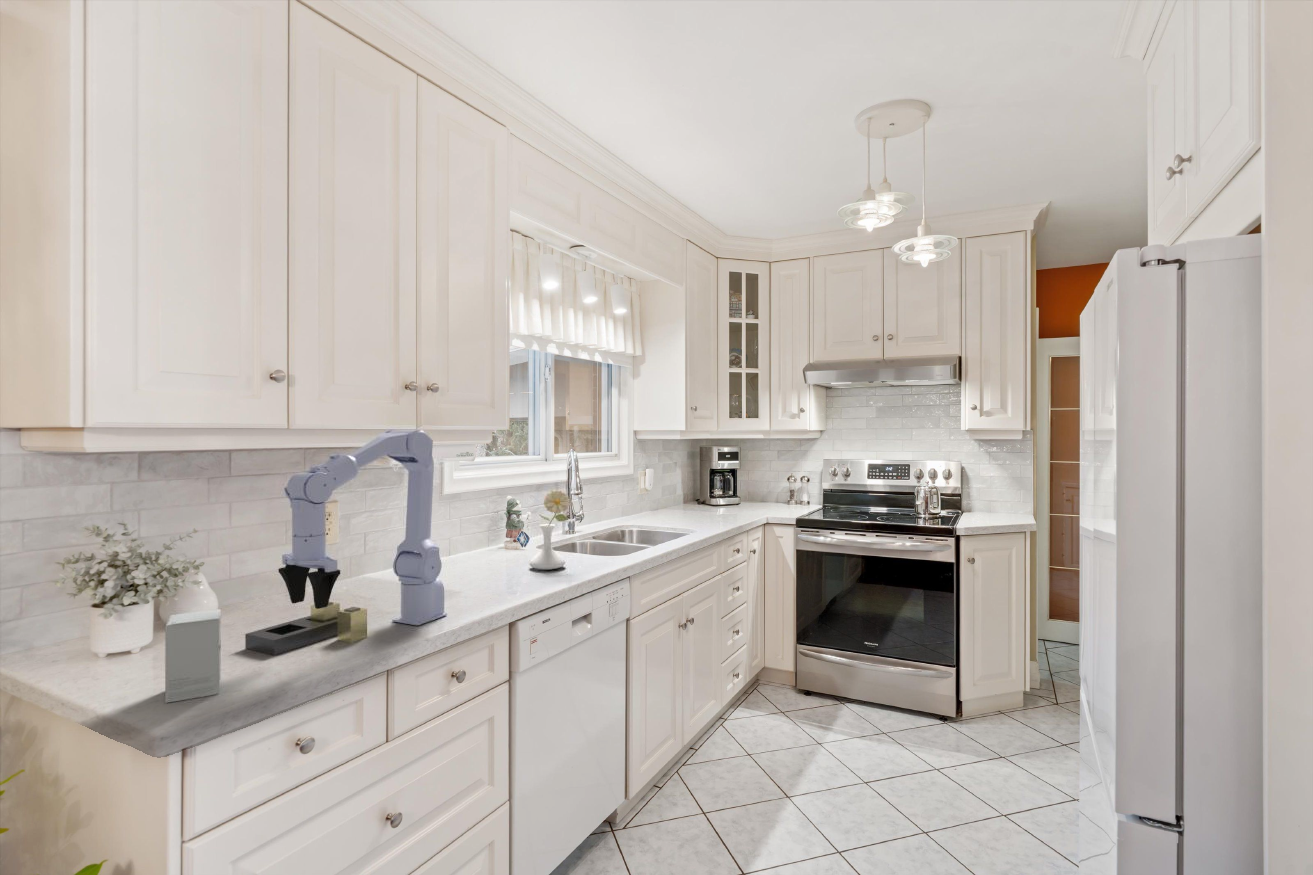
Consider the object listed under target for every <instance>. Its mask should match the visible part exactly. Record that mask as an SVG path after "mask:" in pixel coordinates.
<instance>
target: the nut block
mask: <svg viewBox="0 0 1313 875" xmlns="http://www.w3.org/2000/svg"><path fill="white" fill-rule="evenodd" d="M365 638H368V608H364V607H363V608H362V607H358V606H351V607H347V608H345V609H341V610H340V611H338V635H337V641H340V642H341V641H343V642H347V643H355V642H357V641H360V640H362V639H365Z"/></svg>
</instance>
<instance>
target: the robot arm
mask: <svg viewBox="0 0 1313 875" xmlns="http://www.w3.org/2000/svg"><path fill="white" fill-rule="evenodd" d="M433 443H434V441H433V438H432V437H430V435H429V434H428V433H427V432H426V431H425V430H422V429H415V430H411V429H408V430H407V429H405V430H404V429H403V430H400V429H398V430H397V429H388V430H386V431H384V432H380V433H379V434H378V436H377V437H375V438H374V439H372V440H371V441H369V442H367V443H366V444H365V445H364V444H363V446H361V447H360V448H358V449H357V450H355V451H353V452H352V453H350V454H349V455H348V454H345V453H332V454H330V455H329V457H328V458H329V459H327V460H326V461H324V462H322V463H320V464H318V465H315V464H314V465H312V466H310V468H309V470H308V471H307V472H296V473H295V474H293V475H292V476H291V477H290V479H289V480H288V482H287V484H286V487H284V491H283V492H284V494H285V497H286V498H287V499H288V500H289V504H290V509H291V534H292V535H291V536H292V537H291V538H292V539H291V543H292V544H291V546H292V547H291V548H292V549H291V552H290V553H285V554H282V558H281V560H282V561H281V563H282V565H284V566H283V567H279V568H278V571H277V572H278V573H279V574H280V576H281V577H282V579H283V582H284V583H285V587H286V589H287V592H288V595H289V599H290V601H291V604H297V603H301V602H304V601H305V597H306V588H307V587H306V585H307V580H309V582H310V584H311V589H312V593H313V594H312V595H313V605H315V608H316V609H320V608H324V607H327V606H328V603H329V602H330V599H331V595H332V590H333V588H334V587H335V583H336V581H337V580H338V578H339V576H340V575H341V569H338V560H337V559H333V558H332V557H330V556H327V550H326V549H327V547H326V546H327V545H326V542H327V541H326V540H327V539H326V538H327V535H326V533H327V531H326V530H327V528H326V524H327V523H326V521H327V520H326V518H327V517H326V513H327V512H326V507H327V506H326V502H327V501H328V500H329V499H330V497H331V496H332V494H333V492H334V491H335V490H337V489H338V488H340V487H342V486H344V485H345V484H347V483H348V482H350V481H352V480H354V479H355V478H357V476H358V474H359V469H361V468H363V467H366V466H367V465H369V464H372V463H373V462H376V461H378V460H379V459H382V458H383V457H388V458H389V459H392V460H393V461H395V462H397V463H399V464H401V465H402V466H403V468H405V470H407V472H408V476H407V477H408V478H407V494H406V495H407V500H406V515H405V516H406V517H405V518H406V519H405V521H406V522H405V534H404V535H405V537H404V540H402V542H401V543H400V544H399V545H397V548H396V555H395V557H394V559H393V562H392V563H393V564H392V570H393V573H394V574H395V576H396V577H398V582H400V616H397V617H395V618H392V619H391V621H392V622H395V623H401V624H406V625H412V626H421V625H423V624H426V623H428V622H432V621H435V620H437V619H439V618H443V617H445V616H447V615H448V614H447V612H445V586H444V583H443V582H442V580H441V579H440V578H438V577H439V576H440V573H441V571H442V567H443V566H442V565H443V564H442V559H441V557H440V547H439V546H438V545H437V544H436V543H435V542H434V541H433V540H432V538H431V537H432V536H431V532H432V514H433V512H432V511H433V494H434V493H433V492H434V473H435V472H434V470H435V469H434V468H435V463H434V456H433V447H434V446H433ZM311 569H315V570H314V571H311V572H310V570H311Z"/></svg>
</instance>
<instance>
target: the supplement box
mask: <svg viewBox="0 0 1313 875" xmlns="http://www.w3.org/2000/svg"><path fill="white" fill-rule="evenodd" d="M221 617H222V615H221V609H220V608H219V609H218V608H217V609H210V610H209V609H208V610H201V611H192V612H185V613H177V614H172V615H169V618H168V620H167V621H166V624H165V630H164V632H165V638H164V639H165V641H164V642H165V643H164V644H165V646H164V647H165V648H164V650H165V651H164V652H165V654H164V655H165V657H164V660H165V661H164V662H165V663H164V664H165V665H164V666H165V670H164V673H165V676H164V678H165V682H164V683H165V684H164V686H165V688H164V691H165V693H164V694H165V697H164V699H165V700H164V703H173V702H180V701H185V700H191V699H197V698H203V697H208V696H209V697H210V696H215V695H219V693H220V683H221V675H222V674H221V671H222V670H221V668H222V667H221V665H222V662H221V659H222V657H221V656H222V652H221V651H222V648H221V647H222V645H221V643H222V632H221V631H222V629H221V628H222V622H221V620H222V618H221Z"/></svg>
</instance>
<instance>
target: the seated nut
mask: <svg viewBox="0 0 1313 875" xmlns="http://www.w3.org/2000/svg"><path fill="white" fill-rule="evenodd" d="M340 606H341V603H339V602H335V601H329V603H328V606H327V607H324V608H320V609H316V608H315V605H314V604H312V605H310V616H311V621H314V622H320V623H325V622H328V621H331V620H335V619H338V611H340V609H341V607H340Z"/></svg>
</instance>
